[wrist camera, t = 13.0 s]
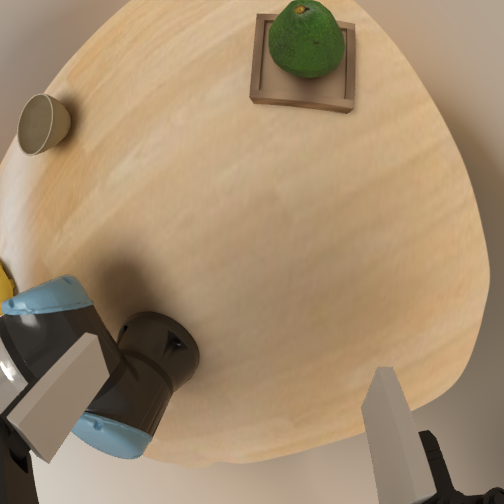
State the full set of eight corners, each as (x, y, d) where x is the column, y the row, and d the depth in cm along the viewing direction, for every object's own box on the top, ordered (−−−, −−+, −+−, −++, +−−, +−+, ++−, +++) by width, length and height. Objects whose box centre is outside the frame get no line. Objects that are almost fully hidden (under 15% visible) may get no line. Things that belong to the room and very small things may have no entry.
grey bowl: (85, 139, 37) (55, 140, 30) (49, 161, 39) (20, 165, 32) (78, 87, 34) (49, 81, 27) (42, 112, 36) (15, 111, 29)
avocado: (312, 23, 25) (320, -28, 14) (349, 71, 27) (375, 33, 16) (258, 49, 28) (242, 3, 16) (293, 98, 29) (295, 67, 18)
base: (253, 103, 33) (249, 97, 29) (260, 26, 29) (256, 13, 25) (347, 113, 32) (353, 108, 28) (349, 35, 28) (354, 23, 24)
